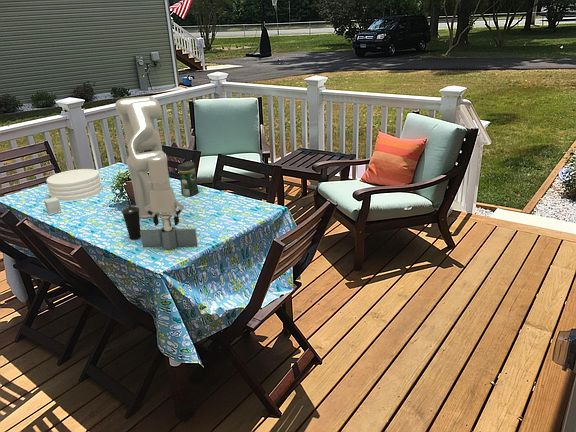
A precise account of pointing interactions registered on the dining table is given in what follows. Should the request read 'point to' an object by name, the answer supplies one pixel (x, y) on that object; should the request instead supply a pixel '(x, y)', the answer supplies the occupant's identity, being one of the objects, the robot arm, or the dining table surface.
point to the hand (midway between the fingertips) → (166, 224)
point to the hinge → (169, 238)
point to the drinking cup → (132, 221)
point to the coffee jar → (188, 178)
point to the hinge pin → (166, 221)
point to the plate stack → (74, 184)
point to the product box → (52, 205)
